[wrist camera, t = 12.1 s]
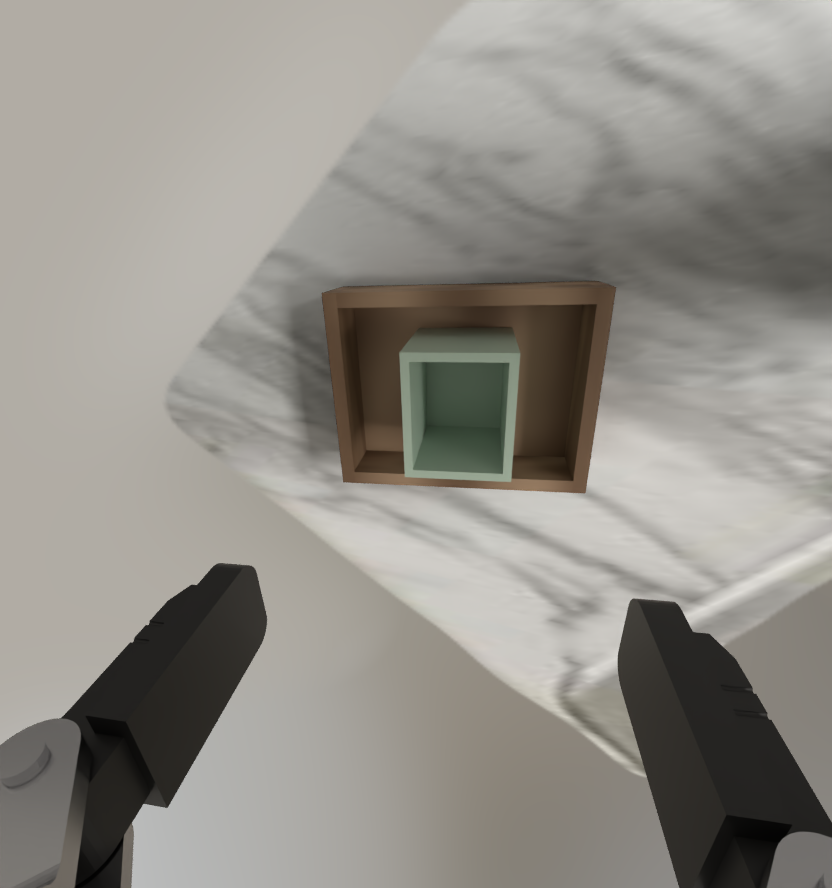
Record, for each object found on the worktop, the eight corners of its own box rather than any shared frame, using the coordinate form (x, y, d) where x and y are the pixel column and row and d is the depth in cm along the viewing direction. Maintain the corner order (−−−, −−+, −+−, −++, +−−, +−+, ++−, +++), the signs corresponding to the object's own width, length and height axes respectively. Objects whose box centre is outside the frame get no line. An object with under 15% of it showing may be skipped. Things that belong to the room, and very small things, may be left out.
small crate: (512, 327, 23) (520, 353, 18) (505, 431, 26) (510, 481, 20) (418, 327, 24) (399, 352, 18) (421, 429, 26) (404, 477, 21)
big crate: (597, 280, 22) (616, 287, 19) (573, 463, 26) (585, 493, 23) (343, 286, 24) (321, 293, 21) (359, 455, 28) (343, 482, 25)
